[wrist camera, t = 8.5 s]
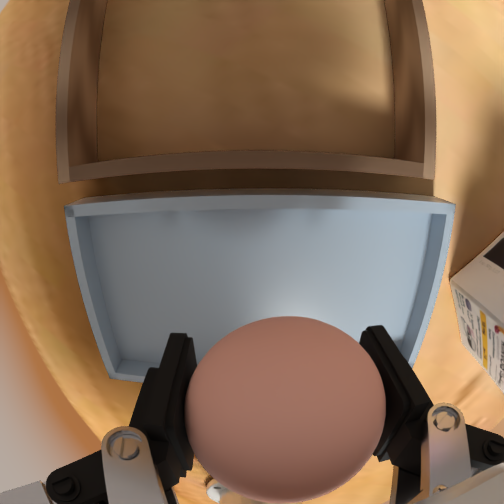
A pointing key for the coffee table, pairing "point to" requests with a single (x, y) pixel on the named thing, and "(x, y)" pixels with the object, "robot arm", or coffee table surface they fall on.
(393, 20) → the wooden box frame
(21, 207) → the coffee table surface
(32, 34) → the coffee table surface
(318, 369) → the ball
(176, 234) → the tray
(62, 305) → the coffee table surface
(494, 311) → the container
